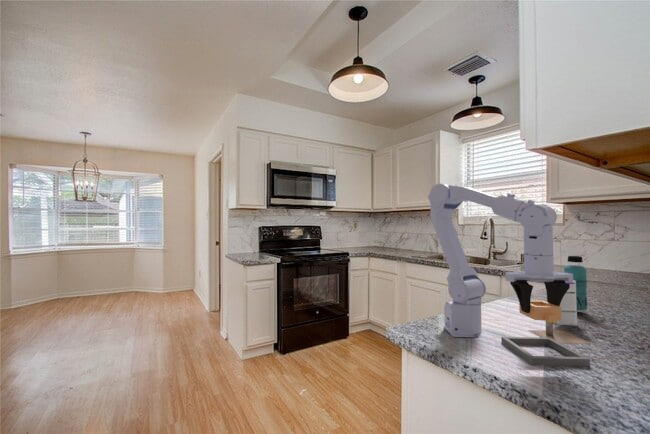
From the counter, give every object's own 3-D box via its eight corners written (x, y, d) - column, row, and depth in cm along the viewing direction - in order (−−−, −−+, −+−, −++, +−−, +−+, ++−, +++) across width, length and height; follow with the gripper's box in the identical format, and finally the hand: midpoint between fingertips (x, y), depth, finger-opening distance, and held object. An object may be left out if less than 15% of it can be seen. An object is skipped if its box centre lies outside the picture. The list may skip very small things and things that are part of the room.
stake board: (550, 346, 76) (550, 321, 76) (528, 333, 85) (527, 311, 85) (591, 347, 75) (590, 322, 75) (564, 334, 84) (564, 312, 84)
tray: (532, 369, 64) (531, 357, 64) (501, 346, 76) (501, 336, 76) (590, 370, 63) (589, 359, 63) (550, 347, 75) (549, 337, 75)
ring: (519, 312, 74) (519, 300, 74) (543, 312, 73) (543, 300, 73) (539, 322, 66) (539, 308, 66) (566, 322, 66) (566, 309, 66)
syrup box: (578, 329, 89) (577, 280, 89) (555, 327, 90) (555, 279, 90) (566, 322, 94) (566, 276, 95) (545, 321, 95) (545, 276, 96)
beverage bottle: (559, 310, 107) (558, 255, 108) (572, 309, 109) (571, 254, 110) (579, 315, 101) (578, 257, 102) (592, 314, 103) (591, 256, 104)
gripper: (517, 256, 67) (518, 316, 67) (583, 256, 67) (584, 317, 66) (500, 253, 74) (501, 308, 74) (559, 253, 74) (560, 308, 73)
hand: (539, 312), depth 71 cm, fingers closed on ring, 6 cm apart
